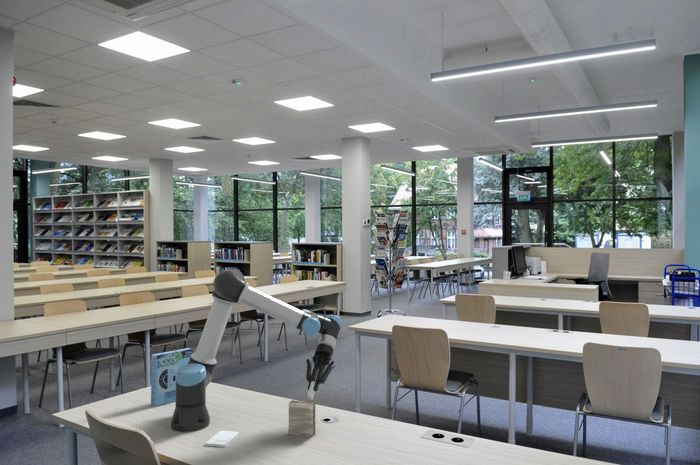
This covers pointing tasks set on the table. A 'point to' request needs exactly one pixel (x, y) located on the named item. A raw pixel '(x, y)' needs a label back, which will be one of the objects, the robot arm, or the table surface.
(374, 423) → the table surface
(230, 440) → the external hard drive
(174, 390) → the gum box
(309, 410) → the walnut tile
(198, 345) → the robot arm
